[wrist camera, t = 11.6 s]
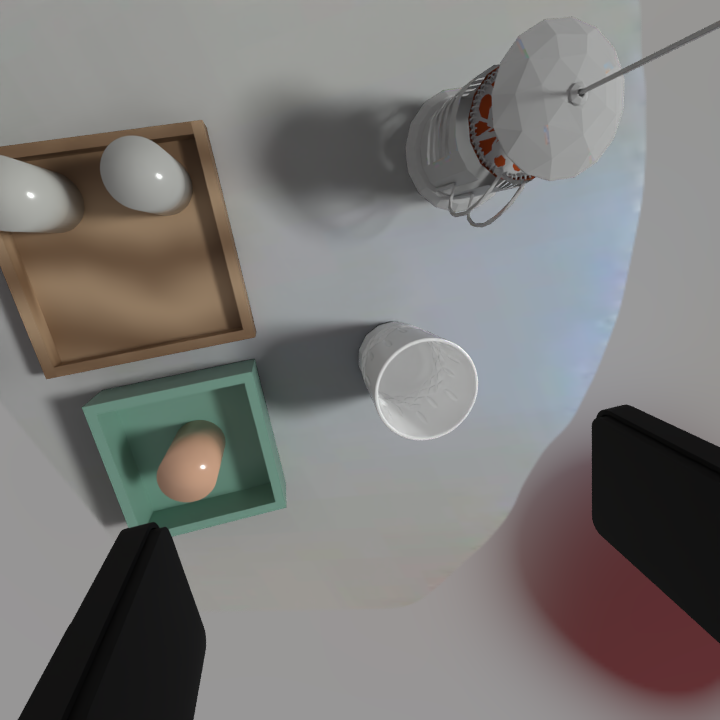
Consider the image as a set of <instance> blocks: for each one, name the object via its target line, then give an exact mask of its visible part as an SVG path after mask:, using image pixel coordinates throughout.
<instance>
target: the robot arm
mask: <svg viewBox="0 0 720 720" xmlns="http://www.w3.org/2000/svg"><path fill="white" fill-rule="evenodd" d="M592 520H593V523H594V526H595V528H596V530H597V531H598V533H599V534H600V535H601V536H602V537H603V538H604V539H606V540H607V541H608V542H609V543H610V544H611V545H612V546H613V547H614V548H615V549H617V550H618V551H619V552H620V553H621V554H622V555H623V556H624V557H625V558H627V559H628V560H629V561H630V562H631V563H632V564H633V565H634V566H635V567H636V568H638V569H639V570H640V571H641V572H642V573H643V574H644V575H645V576H646V577H648V578H649V579H650V580H651V581H652V582H653V583H654V584H655V585H656V586H657V587H659V588H660V589H661V590H662V591H663V592H664V593H665V594H666V595H667V596H668V597H669V598H670V599H672V600H673V601H674V602H675V603H676V604H677V605H678V606H679V607H680V608H681V609H683V610H684V611H685V612H686V613H687V614H688V615H689V616H690V617H691V618H693V619H694V620H695V621H696V622H697V623H698V624H699V625H700V626H701V627H702V628H703V629H705V630H706V631H707V632H708V633H709V634H710V635H711V636H712V637H713V638H714V639H716V640H717V641H718V642H719V643H720V447H718V446H716V445H714V444H712V443H709V442H707V441H705V440H703V439H701V438H699V437H697V436H694V435H692V434H690V433H688V432H686V431H683V430H681V429H679V428H677V427H675V426H673V425H671V424H669V423H666V422H664V421H662V420H660V419H658V418H655V417H653V416H651V415H649V414H647V413H645V412H643V411H641V410H639V409H637V408H634V407H632V406H629V405H622V406H617V407H613V408H609V409H605V410H601V411H600V412H599V413H598V415H597V418H596V419H594V421H593V423H592ZM205 650H206V635H205V630H204V626H203V624H202V621H201V618H200V615H199V612H198V609H197V606H196V604H195V601H194V598H193V595H192V592H191V590H190V587H189V584H188V581H187V578H186V576H185V573H184V570H183V567H182V564H181V562H180V559H179V556H178V553H177V550H176V548H175V545H174V542H173V539H172V536H171V533H170V531H169V529H168V528H167V527H162V528H159V526H158V525H157V523H155V522H151V523H147V524H143V525H139V526H135V527H131V528H127V529H124V530H122V531H121V532H120V534H119V535H118V537H117V539H116V541H115V543H114V545H113V547H112V549H111V550H110V552H109V554H108V556H107V558H106V559H105V561H104V563H103V565H102V567H101V569H100V571H99V573H98V574H97V576H96V578H95V580H94V582H93V584H92V586H91V587H90V589H89V591H88V593H87V595H86V597H85V598H84V600H83V602H82V604H81V606H80V608H79V610H78V612H77V613H76V615H75V617H74V619H73V621H72V622H71V624H70V625H69V627H68V628H67V630H66V632H65V634H64V636H63V637H62V639H61V641H60V643H59V645H58V647H57V649H56V650H55V652H54V654H53V656H52V658H51V660H50V662H49V663H48V665H47V667H46V669H45V671H44V673H43V674H42V676H41V678H40V680H39V682H38V684H37V685H36V687H35V689H34V691H33V693H32V695H31V697H30V698H29V700H28V702H27V704H26V706H25V708H24V710H23V711H22V713H21V715H20V717H19V719H18V720H193V719H194V713H195V707H196V702H197V696H198V690H199V685H200V679H201V673H202V667H203V662H204V656H205Z"/></svg>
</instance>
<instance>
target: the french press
mask: <svg viewBox="0 0 720 720" xmlns="http://www.w3.org/2000/svg"><path fill="white" fill-rule="evenodd" d="M718 28H720V21H718V22H716V23H714V24H712V25H710V26H708V27H706V28H704V29H702V30H700V31H698V32H696V33H694V34H692V35H690V36H688V37H686V38H684V39H682V40H680V41H678V42H676V43H674V44H672V45H670V46H668V47H666V48H664V49H662V50H660V51H658V52H656V53H654V54H652V55H650V56H648V57H646V58H644V59H642V60H640V61H638V62H636V63H634V64H632V65H630V66H628V67H626V68H624V69H622V68H621V65H620V62H619V59H618V56H617V53H616V50H615V48H614V47H613V46H612V44H611V43H610V42H609V41H608V40H607V39H606V37H605V36H604V35H603V34H602V33H601V31H600V30H599V29H598V28H597V27H595V26H593V25H590V24H588V23H586V22H583V21H581V20H579V19H576V18H574V17H563V18H553V19H544V20H543V21H541V22H539V23H538V24H536V25H535V26H533V27H532V28H530V29H529V30H527V31H525V32H524V33H522V34H521V35H519V36H518V38H517V39H516V41H515V42H514V44H513V45H512V46H511V48H510V49H509V51H508V52H507V54H506V55H505V57H504V58H503V59H502V61H501V62H500V65H493V66H492V67H490V68H489V69H487V70H486V71H484V72H483V73H481V74H480V75H478V76H477V77H475V78H474V79H473V80H472V81H470V82H469V83H468V84H467V85H465V86H464V87H463V88H456V89H448V90H443V91H441V92H440V93H438V94H437V95H435V96H434V97H432V98H431V99H429V100H428V101H426V102H425V103H424V104H423V105H422V107H421V108H420V110H419V112H418V113H417V115H416V116H415V118H414V119H413V121H412V122H411V124H410V128H409V133H408V137H407V142H406V146H405V152H406V160H407V168H408V173H409V175H410V177H411V179H412V181H413V183H414V185H415V187H416V189H417V190H418V192H419V194H421V195H422V196H423V197H424V198H425V199H427V200H428V201H429V202H430V203H431V204H433V205H434V206H435V207H438V208H441V209H445V210H449V211H450V214H451V215H452V216H454V217H459V216H464V215H467V220H468V221H469V223H470V225H472V226H474V227H484V226H487V225H489V224H491V223H492V222H493V221H495V220H496V219H497V218H498V217H499V216H501V215H502V214H503V213H504V212H505V211H506V210H507V209H508V208H509V207H510V206H511V205H512V204H513V203H514V201H515V200H516V199H517V197H518V196H519V195H520V193H521V192H522V190H523V189H524V186H525V184H526V183H527V182H529V181H531V180H532V179H534V178H535V177H538V178H541V179H544V180H548V181H554V180H561V179H568V178H574V177H576V176H577V175H579V174H580V173H582V172H583V171H585V170H586V169H588V168H589V167H591V166H592V165H594V164H595V163H597V161H598V160H599V159H600V157H601V156H602V154H603V153H604V152H605V150H606V149H607V148H608V146H609V145H610V144H611V142H612V141H613V139H614V137H615V134H616V131H617V128H618V125H619V122H620V119H621V116H622V113H623V110H624V75H623V74H625V73H627V72H630V71H632V70H634V69H636V68H638V67H640V66H642V65H644V64H646V63H648V62H650V61H652V60H654V59H656V58H658V57H660V56H663V55H664V54H667V53H669V52H671V51H673V50H675V49H677V48H679V47H681V46H683V45H685V44H687V43H689V42H691V41H693V40H696V39H698V38H700V37H702V36H704V35H706V34H708V33H710V32H712V31H714V30H716V29H718ZM482 77H485V78H484V80H478V81H475V80H476V79H478V78H482ZM473 81H474V82H473ZM477 83H481V84H480V85H477V86H471V87H469V86H470V85H472V84H477ZM474 88H476V89H475V90H472V89H474ZM505 180H506V181H505ZM504 181H505V182H504ZM503 182H504V183H503ZM507 182H509V183H508V184H507V185H505V186H504V187H502V186H503V185H504V184H506V183H507ZM511 183H512V184H513V185H511V186H509V185H510V184H511ZM516 184H517V185H516ZM514 185H515V186H514ZM507 186H509V187H511V188H509V187H507ZM512 186H513V187H512ZM501 187H502V188H501ZM505 187H507V188H505ZM516 187H519V189H518V190H517V192H516V193H515V195H514V196H513V198H512V199H511V201H510V202H509V203H508V204H507V205H506V206H505V207H504V208H503V209H502V210H501V211H500V212H499V213H498V214H497V215H495V216H494V217H492V218H491V219H490V220H488V221H486V222H485V223H476V224H475V223H474V222H473V221H472V220H471V218H470V212H471V211H472V210H473V209H476V208H477V207H479V206H480V205H482V204H483V203H485V202H486V201H488V200H489V199H490V198H492V197H493V196H494V195H495V193H496V192H498V191H502V190H507V189H512V188H516ZM503 188H504V189H503ZM465 210H466V211H465ZM459 211H465V212H460V213H455V212H459Z"/></svg>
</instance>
